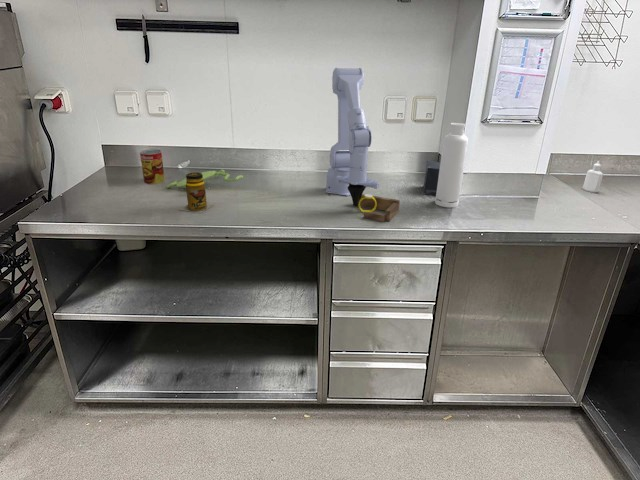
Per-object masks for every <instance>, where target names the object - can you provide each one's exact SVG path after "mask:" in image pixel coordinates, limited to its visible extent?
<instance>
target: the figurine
mask: <svg viewBox="0 0 640 480" xmlns="http://www.w3.org/2000/svg"><path fill="white" fill-rule="evenodd" d="M200 173H201V174H202V175H203V181H204V182H205V181H207V180H208V179H210V178H212V177H214V178H218V177H219V176H221V177H223V176H224V177H223V181H224V182H236V181H238V180H239V179H244V175H242V174H241V175H237V176H236V177H235V178H229V177H230V176H231V175H230V174H229V173H228V172H225V169H220V170H219V171H216V170H208V171H202V172H200ZM186 182H187V181H186V178H184V179H182V180H181V181H179V182H178V179H174V180H173V182H170V183H168V184H167V186H166V188H167V189H170V188H171V187H174V186H176V187H177V188H183V189H184V190H186Z"/></svg>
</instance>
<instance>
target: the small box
mask: <svg viewBox="0 0 640 480" xmlns="http://www.w3.org/2000/svg"><path fill="white" fill-rule="evenodd" d="M440 163H441V161H432V160H430V161H429V160H426V164H425V165H426V167H425V173H424V181H423V190H422V192H423V194H424V195H431V196H432V195H433V196H436V192H437V185H438V177H439V170H440Z"/></svg>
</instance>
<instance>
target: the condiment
mask: <svg viewBox="0 0 640 480" xmlns="http://www.w3.org/2000/svg"><path fill="white" fill-rule="evenodd" d="M201 173H202V172H197V171H195V172H189V173H187V174H186V175H185V179H186V181H187V182H186V189H185V191H186V197H187V198H186V199H187V204H186V205H185V206H183V207H181V208H179V209H178V210H179V211H185V212H191V213H196V214H197V213H198V214H201V213H203V212H205V211H206V210H208V209H209V208H211V207H212V205H209V204H207V195H206V183H205V180H204V181H203V175H202V174H201Z"/></svg>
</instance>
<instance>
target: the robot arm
mask: <svg viewBox="0 0 640 480" xmlns="http://www.w3.org/2000/svg"><path fill="white" fill-rule="evenodd" d="M364 79H365V74H364V70H363V68H362V67H359V68H358V67H357V68H347V67H345V68H342V67H341V68H340V67H335V68H334V69H333V71H332V77H331V80H332V83H331V84H332V88H331V89H332V93H333V94H335V95H336V96H337V122H338V123H337V141H336V143H334V144H333V145H332V146H331V148H330V150H329V151H330V153H329V166H330V167H329V168H328V170H327V172H326V181H325V182H326V187H325V193H327V194H333V195H334V194H335V195H339V196H345V197H346V196H347V197H349V196H350V198H351V200H352V205H353V207H357V208H358V207H359V206H358V204H359V200H360V198H361V196H362V194H364V191H365V189H366V188H371V189H372V188H373V190H374V189H375V190H377V189H379V187H380V181H376V180H372V179H369V178H367V174H368V172H367V171H368V155H369V148H370V147H371V145H372V131H371V129H370V127H369V125H368V123H367V119H366V113H365V110H364V109H363V108H361V100H360V99H361V98H360V95H361V94H360V90H362V87H363V85H364V81H365V80H364Z"/></svg>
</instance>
